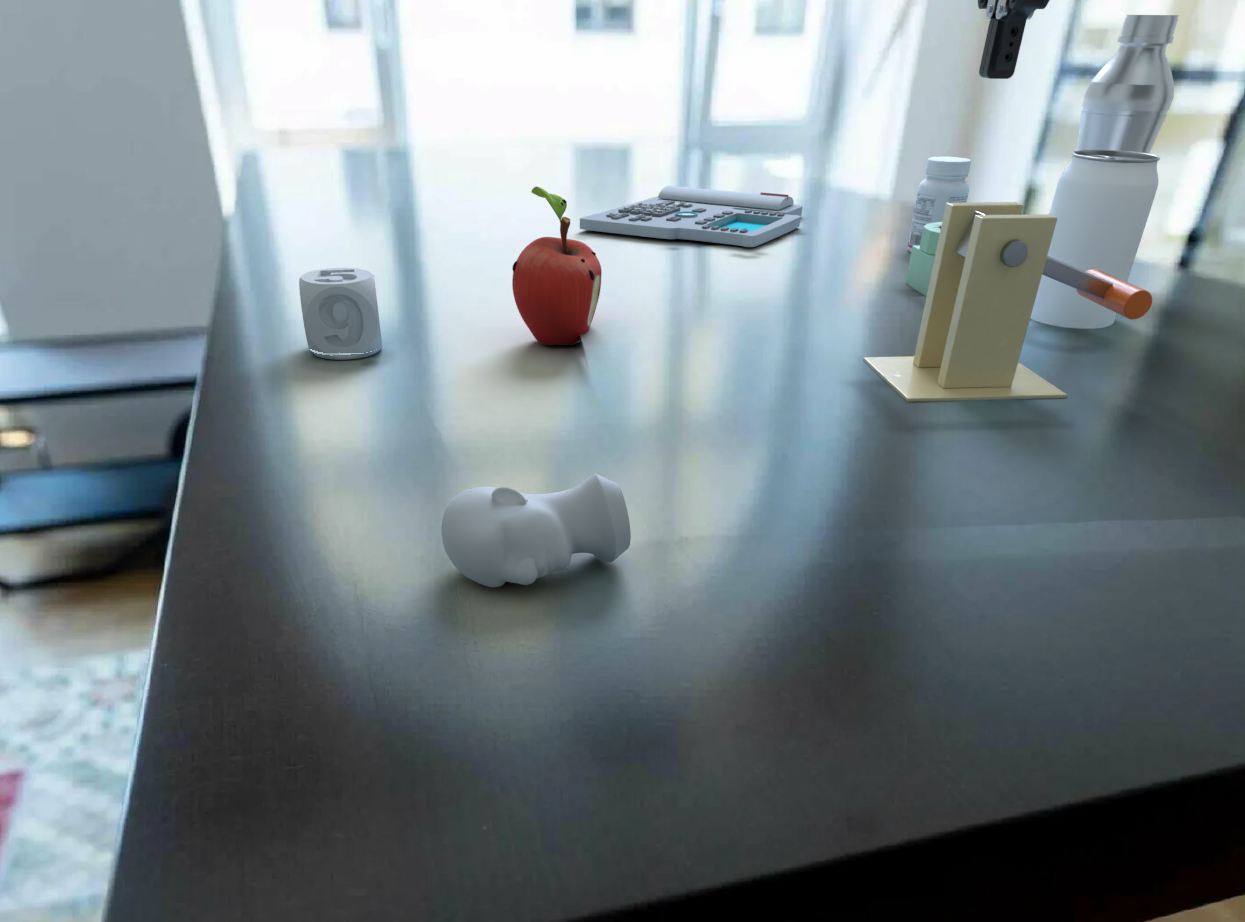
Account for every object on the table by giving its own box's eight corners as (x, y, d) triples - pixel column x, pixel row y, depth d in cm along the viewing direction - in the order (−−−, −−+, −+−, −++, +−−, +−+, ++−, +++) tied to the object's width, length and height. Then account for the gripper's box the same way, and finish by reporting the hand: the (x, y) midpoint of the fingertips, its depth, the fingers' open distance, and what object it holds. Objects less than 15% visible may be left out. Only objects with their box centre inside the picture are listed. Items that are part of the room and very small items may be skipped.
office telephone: (672, 179, 117) (826, 193, 109) (670, 202, 118) (823, 218, 110) (578, 204, 100) (753, 223, 92) (578, 231, 102) (750, 251, 93)
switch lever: (1087, 305, 60) (1111, 268, 59) (1136, 329, 56) (1162, 289, 54) (942, 245, 57) (963, 205, 56) (981, 266, 53) (1005, 222, 51)
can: (1075, 347, 68) (1131, 163, 61) (1001, 325, 73) (1046, 152, 66) (1127, 334, 71) (1186, 157, 64) (1053, 314, 76) (1101, 146, 69)
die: (381, 337, 69) (372, 265, 66) (383, 358, 65) (374, 282, 62) (311, 341, 68) (300, 268, 65) (309, 362, 64) (297, 286, 61)
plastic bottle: (1076, 300, 79) (1161, 15, 68) (1016, 282, 84) (1086, 14, 73) (1130, 293, 81) (1222, 15, 70) (1069, 276, 86) (1144, 14, 75)
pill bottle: (953, 248, 96) (973, 156, 91) (957, 258, 92) (978, 163, 87) (905, 246, 97) (922, 154, 92) (907, 255, 93) (925, 161, 88)
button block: (998, 280, 85) (1012, 221, 82) (1038, 302, 79) (1055, 238, 76) (902, 282, 84) (913, 221, 81) (935, 303, 78) (948, 239, 75)
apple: (625, 343, 68) (629, 192, 62) (558, 363, 64) (556, 204, 58) (553, 321, 73) (551, 179, 67) (486, 339, 69) (477, 189, 63)
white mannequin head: (444, 618, 40) (449, 532, 43) (632, 611, 40) (623, 526, 43) (431, 548, 36) (437, 460, 39) (637, 540, 36) (627, 454, 39)
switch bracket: (1002, 371, 63) (1048, 197, 57) (1061, 413, 57) (1121, 221, 51) (860, 375, 63) (891, 198, 56) (903, 417, 56) (944, 223, 50)
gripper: (1174, -243, 58) (1085, 84, 68) (1065, -204, 68) (1002, 73, 78) (1059, -248, 57) (986, 83, 67) (967, -208, 68) (916, 72, 78)
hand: (995, 77), depth 73 cm, fingers closed
